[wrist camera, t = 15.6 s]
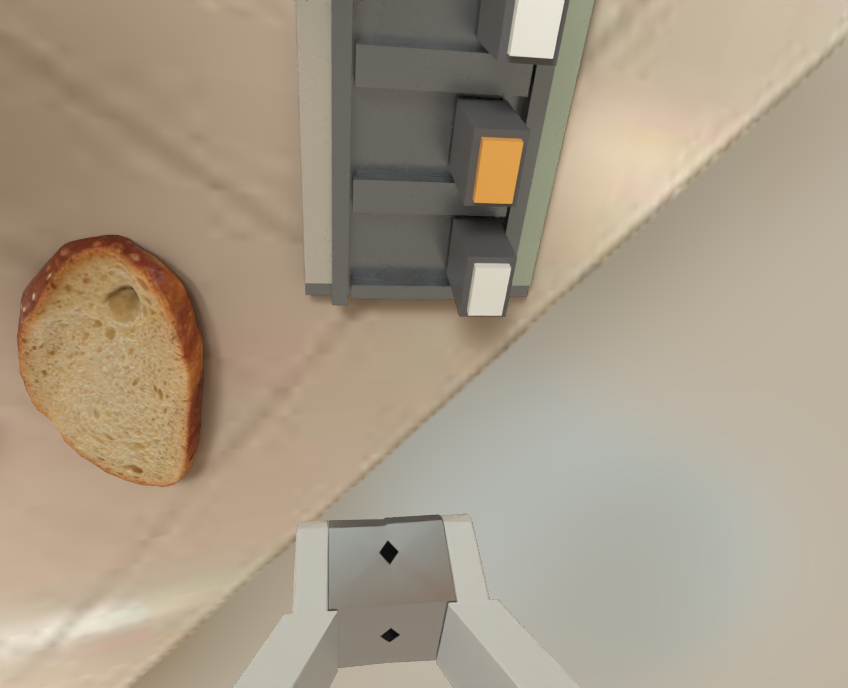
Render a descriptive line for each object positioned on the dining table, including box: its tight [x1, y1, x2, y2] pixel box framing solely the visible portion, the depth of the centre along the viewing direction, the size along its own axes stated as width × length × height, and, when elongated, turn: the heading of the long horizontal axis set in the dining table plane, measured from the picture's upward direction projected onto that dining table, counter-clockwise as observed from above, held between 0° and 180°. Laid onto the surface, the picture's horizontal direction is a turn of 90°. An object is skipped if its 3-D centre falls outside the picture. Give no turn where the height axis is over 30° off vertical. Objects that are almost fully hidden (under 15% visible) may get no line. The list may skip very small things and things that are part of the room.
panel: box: [296, 0, 594, 305], centre depth 35 cm, size 22×15×2 cm
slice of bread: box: [17, 235, 204, 487], centre depth 43 cm, size 18×18×4 cm
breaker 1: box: [447, 216, 517, 316], centre depth 37 cm, size 4×3×6 cm
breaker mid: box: [449, 98, 530, 207], centre depth 33 cm, size 4×3×6 cm
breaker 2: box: [476, 0, 570, 66], centre depth 29 cm, size 4×3×6 cm
